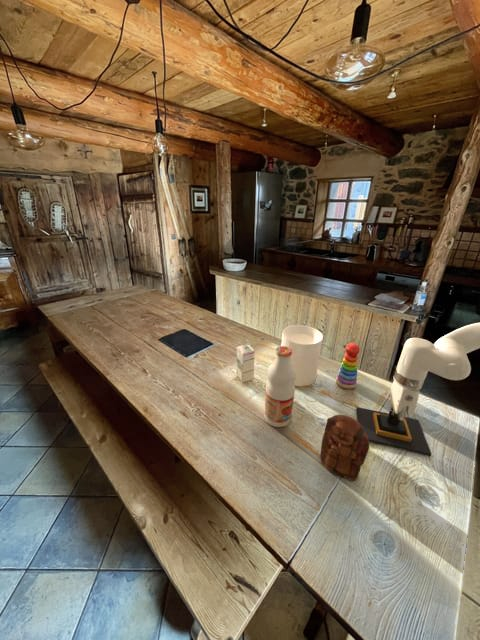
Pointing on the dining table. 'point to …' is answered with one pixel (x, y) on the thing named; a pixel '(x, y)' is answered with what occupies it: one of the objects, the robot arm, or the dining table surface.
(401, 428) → the black pad
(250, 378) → the syrup box
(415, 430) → the base pad
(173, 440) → the dining table surface
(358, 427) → the wooden figurine
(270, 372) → the fruit juice
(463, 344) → the robot arm
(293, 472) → the dining table surface
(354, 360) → the stacking toy
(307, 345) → the canister
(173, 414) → the dining table surface
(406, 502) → the dining table surface
